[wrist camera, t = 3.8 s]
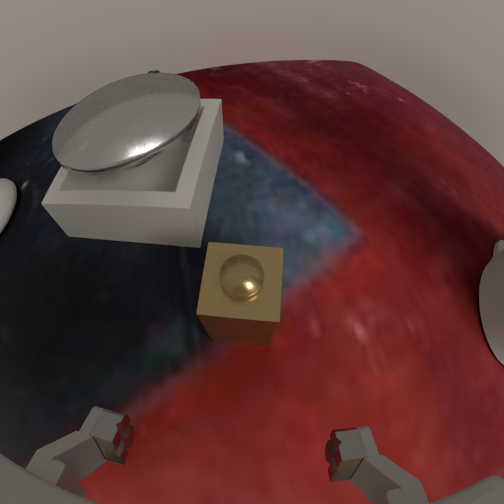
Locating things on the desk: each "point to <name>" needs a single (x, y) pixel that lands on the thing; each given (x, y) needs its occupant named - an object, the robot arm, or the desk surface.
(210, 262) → the brass weight
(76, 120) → the scale pan
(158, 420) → the desk surface
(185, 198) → the base
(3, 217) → the flower in vase
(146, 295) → the desk surface
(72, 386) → the desk surface
